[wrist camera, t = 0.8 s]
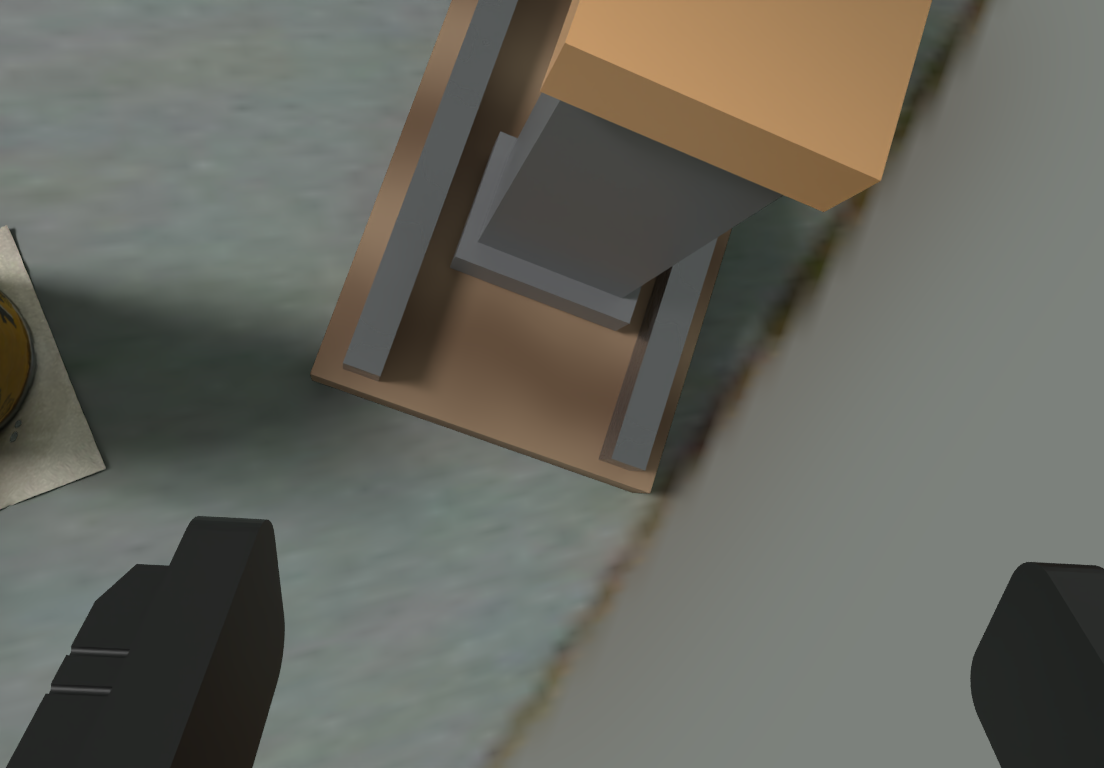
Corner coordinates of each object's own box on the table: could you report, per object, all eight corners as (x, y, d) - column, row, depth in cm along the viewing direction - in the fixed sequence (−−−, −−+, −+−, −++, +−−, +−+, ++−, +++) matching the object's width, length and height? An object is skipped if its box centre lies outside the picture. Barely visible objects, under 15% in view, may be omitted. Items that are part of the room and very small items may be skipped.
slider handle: (615, 330, 32) (878, 191, 16) (449, 267, 31) (561, 53, 15) (653, 214, 33) (939, -27, 17) (492, 148, 32) (640, -173, 16)
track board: (632, 492, 34) (650, 493, 32) (311, 380, 32) (309, 373, 30) (847, -197, 39) (875, -234, 37) (582, -334, 37) (596, -382, 35)
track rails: (630, 470, 32) (653, 470, 30) (342, 368, 30) (343, 359, 28) (852, -239, 37) (887, -287, 35) (616, -363, 35) (635, -422, 33)
